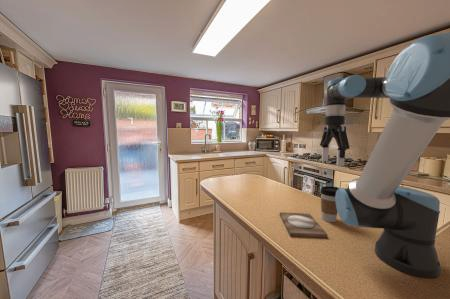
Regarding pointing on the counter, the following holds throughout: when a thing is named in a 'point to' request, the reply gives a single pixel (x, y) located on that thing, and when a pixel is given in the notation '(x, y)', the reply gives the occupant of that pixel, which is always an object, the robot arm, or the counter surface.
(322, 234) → the board
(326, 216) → the coffee cup
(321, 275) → the counter surface
